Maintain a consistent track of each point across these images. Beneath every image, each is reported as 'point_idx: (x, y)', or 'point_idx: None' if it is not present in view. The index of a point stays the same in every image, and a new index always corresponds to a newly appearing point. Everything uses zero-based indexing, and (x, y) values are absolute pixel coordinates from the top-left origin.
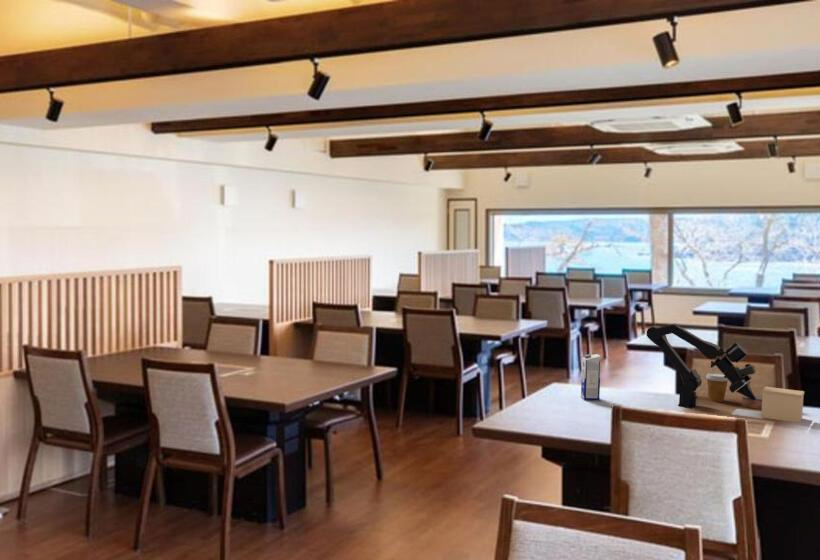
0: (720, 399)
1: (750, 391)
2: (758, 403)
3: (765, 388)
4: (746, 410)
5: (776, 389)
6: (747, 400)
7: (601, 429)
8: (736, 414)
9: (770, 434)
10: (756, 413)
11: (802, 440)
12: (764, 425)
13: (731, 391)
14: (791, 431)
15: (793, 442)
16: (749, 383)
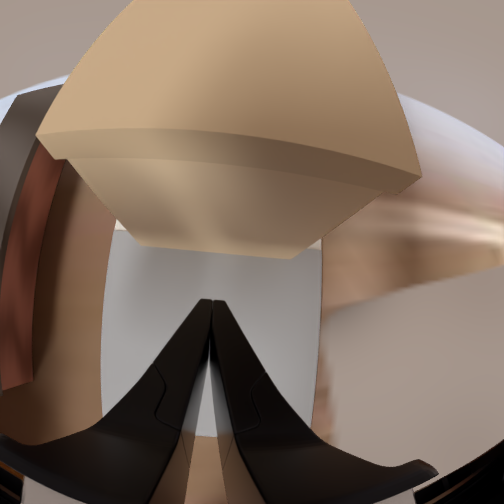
0: (10, 471)
1: (271, 381)
2: (12, 286)
3: (230, 113)
4: (120, 364)
5: (214, 25)
6: (3, 358)
7: None
8: (298, 408)
9: (491, 217)
10: (179, 297)
11: (476, 145)
12: (422, 236)
13: (445, 489)
14: (429, 148)
15: (498, 170)
16: (137, 476)
